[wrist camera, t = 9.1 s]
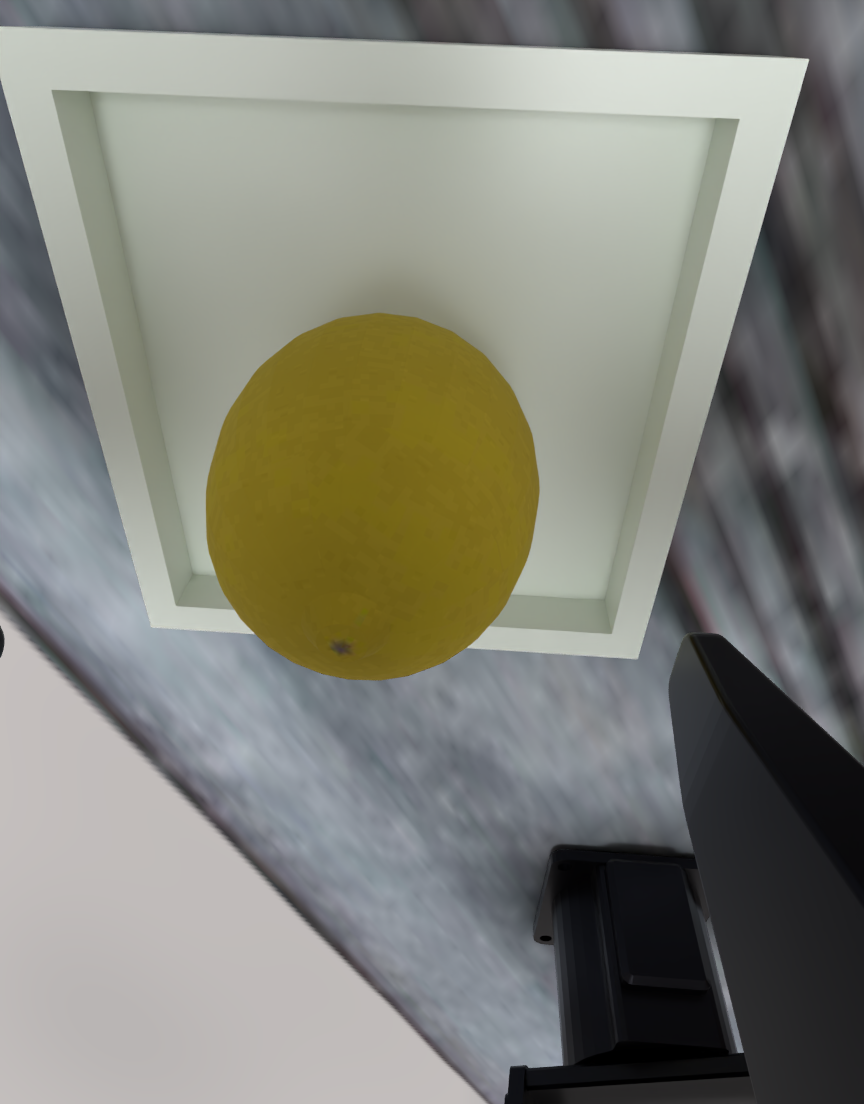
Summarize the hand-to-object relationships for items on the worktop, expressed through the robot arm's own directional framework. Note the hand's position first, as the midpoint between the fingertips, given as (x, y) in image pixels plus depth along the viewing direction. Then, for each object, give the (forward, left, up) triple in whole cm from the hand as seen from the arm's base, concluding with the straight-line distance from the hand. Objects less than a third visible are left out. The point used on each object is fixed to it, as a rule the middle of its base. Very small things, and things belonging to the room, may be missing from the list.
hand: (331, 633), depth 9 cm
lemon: (0, 0, -8) cm, 8 cm away
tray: (0, 0, -8) cm, 8 cm away
